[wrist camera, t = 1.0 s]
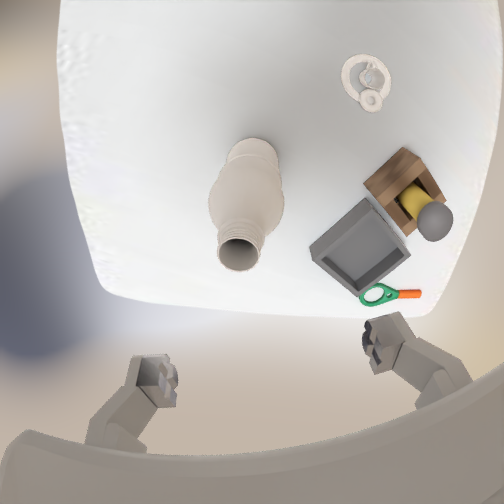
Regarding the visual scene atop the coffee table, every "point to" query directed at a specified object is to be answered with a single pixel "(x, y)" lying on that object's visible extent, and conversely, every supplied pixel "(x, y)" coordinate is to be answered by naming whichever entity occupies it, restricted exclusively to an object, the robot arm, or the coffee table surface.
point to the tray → (359, 249)
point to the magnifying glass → (392, 296)
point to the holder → (402, 186)
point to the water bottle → (246, 203)
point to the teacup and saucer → (378, 81)
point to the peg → (426, 212)
